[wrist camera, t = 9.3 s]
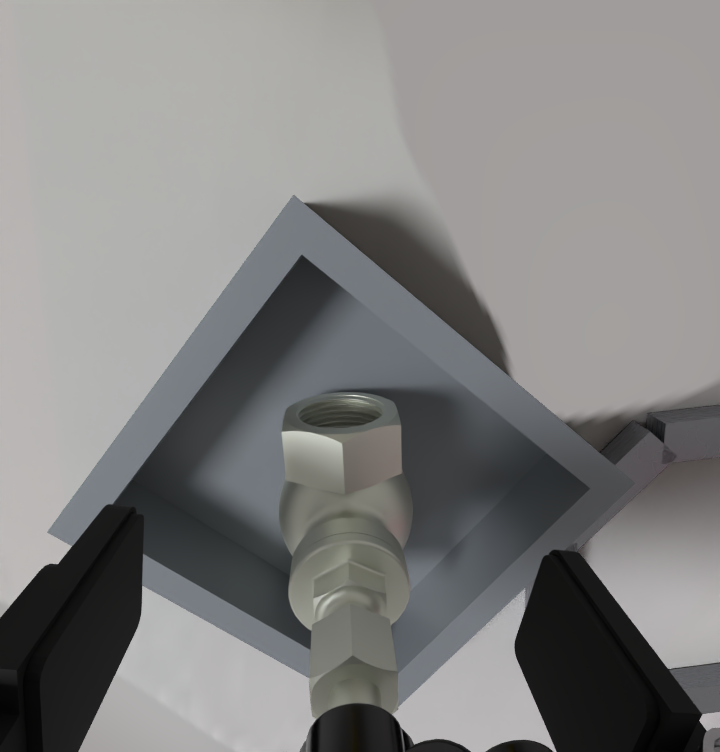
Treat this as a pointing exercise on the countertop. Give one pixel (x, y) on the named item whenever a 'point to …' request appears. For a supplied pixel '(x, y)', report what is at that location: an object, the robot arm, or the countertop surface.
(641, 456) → the segmented octagonal ring
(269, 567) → the bin
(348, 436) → the valve
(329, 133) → the countertop surface
